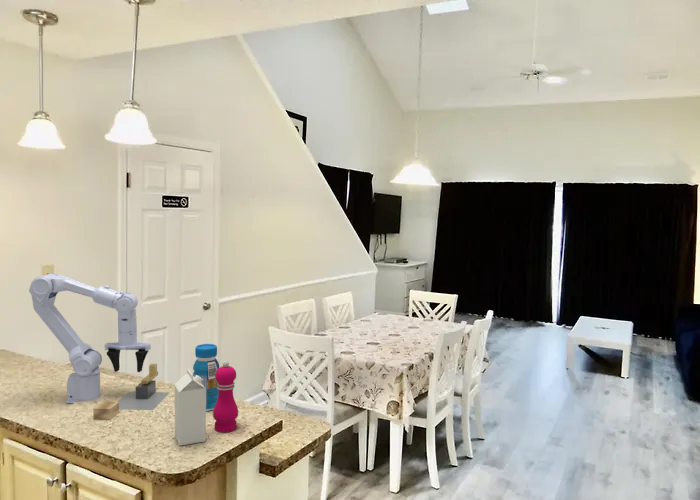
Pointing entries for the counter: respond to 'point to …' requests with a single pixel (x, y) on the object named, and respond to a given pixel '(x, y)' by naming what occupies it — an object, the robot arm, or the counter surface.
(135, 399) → the housing plate
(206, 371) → the beverage bottle
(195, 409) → the milk carton
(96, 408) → the oak cover
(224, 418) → the pepper mill
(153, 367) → the latch bolt
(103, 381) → the counter surface
